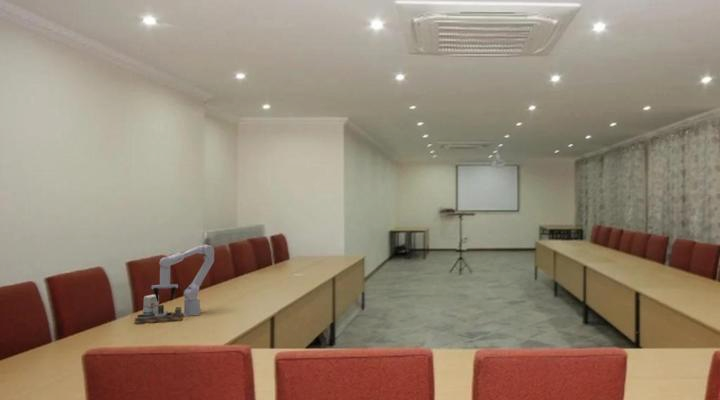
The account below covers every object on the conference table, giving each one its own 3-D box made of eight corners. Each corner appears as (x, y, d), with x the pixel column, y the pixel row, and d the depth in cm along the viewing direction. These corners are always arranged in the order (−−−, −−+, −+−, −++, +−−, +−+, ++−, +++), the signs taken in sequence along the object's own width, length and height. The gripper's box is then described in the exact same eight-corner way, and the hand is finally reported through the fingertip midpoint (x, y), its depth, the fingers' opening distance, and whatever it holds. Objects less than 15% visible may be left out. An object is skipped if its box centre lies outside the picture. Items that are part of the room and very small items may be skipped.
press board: (183, 315, 275) (183, 305, 275) (182, 320, 263) (182, 310, 263) (138, 319, 267) (138, 309, 267) (134, 324, 255) (134, 313, 255)
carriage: (168, 315, 270) (168, 303, 270) (167, 318, 263) (167, 306, 263) (155, 316, 268) (156, 304, 268) (154, 319, 261) (154, 307, 261)
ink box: (150, 316, 274) (150, 297, 274) (142, 316, 275) (142, 296, 275) (159, 313, 282) (159, 294, 282) (152, 313, 283) (152, 294, 283)
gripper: (151, 279, 265) (150, 302, 264) (177, 278, 269) (177, 301, 269) (152, 277, 271) (152, 300, 271) (178, 276, 276) (178, 298, 276)
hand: (164, 300), depth 271 cm, fingers open, 7 cm apart
